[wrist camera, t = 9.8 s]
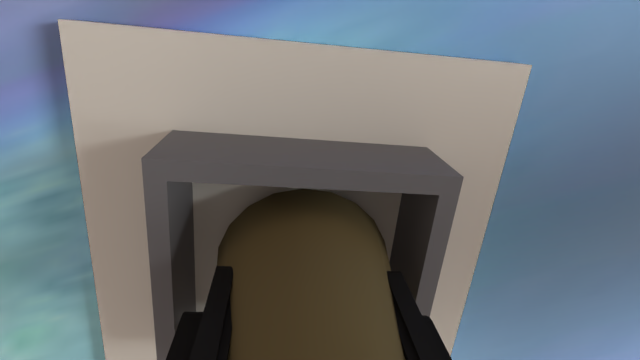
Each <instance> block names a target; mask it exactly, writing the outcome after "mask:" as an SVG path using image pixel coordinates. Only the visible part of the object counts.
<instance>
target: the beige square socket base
mask: <svg viewBox="0 0 640 360" xmlns="http://www.w3.org/2000/svg"><path fill="white" fill-rule="evenodd" d="M58 25H59V32H60V40H61V47H62V54H63V61H64V68H65V75H66V82H67V89H68V96H69V104H70V111H71V118H72V125H73V132H74V139H75V146H76V153H77V160H78V167H79V175H80V182H81V189H82V196H83V203H84V210H85V217H86V224H87V231H88V239H89V246H90V253H91V260H92V267H93V274H94V281H95V288H96V295H97V302H98V310H99V317H100V324H101V331H102V338H103V345H104V352H105V359H106V360H166V357H167V354H168V352H169V349H170V346H171V343H172V341H173V338H174V335H175V332H176V330H177V327H178V324H179V321H180V318H181V316H182V314H183V313H184V312H203V311H204V307H205V304H206V300H207V297H208V294H209V290H210V287H211V283H212V280H213V276H214V273H215V269H216V266H217V258H218V247H219V245H220V243H221V241H222V239H223V237H224V235H225V233H226V230H227V228H228V226H229V225H230V224H231V223H232V222H233V221H234V220H235V219H236V218H237V217H238V216H239V215H240V214H241V213H242V212H243V211H244V210H245V209H246V208H247V207H248V206H249V205H251V204H253V203H255V202H257V201H259V200H261V199H263V198H265V197H267V196H269V195H271V194H273V193H279V192H284V191H290V190H296V189H302V188H303V189H312V190H320V191H329V192H332V193H335V194H337V195H339V196H341V197H344V198H346V199H348V200H350V201H353V202H355V203H356V204H357V205H358V206H360V207H361V208H362V209H363V210H364V211H365V212H366V213H367V214H368V215H369V216H370V217H371V218H372V219H374V221H375V223H376V225H377V227H378V229H379V231H380V233H381V235H382V237H383V239H384V241H385V245H386V249H387V254H388V259H389V263H390V268H391V271H400V272H401V273H402V275H403V277H404V279H405V281H406V283H407V285H408V287H409V289H410V291H411V293H412V296H413V298H414V300H415V302H416V304H417V306H418V308H419V310H420V312H421V314H422V315H426V316H429V317H430V318H431V320H432V321H433V323H434V325H435V327H436V329H437V331H438V333H439V335H440V337H441V339H442V341H443V343H444V345H445V347H446V349H447V351H448V353H449V355H450V356H451V352H452V349H453V345H454V341H455V338H456V334H457V331H458V327H459V324H460V320H461V317H462V313H463V309H464V306H465V302H466V299H467V295H468V292H469V288H470V285H471V281H472V277H473V274H474V270H475V267H476V263H477V260H478V256H479V253H480V249H481V245H482V242H483V238H484V235H485V231H486V228H487V224H488V221H489V217H490V213H491V210H492V206H493V203H494V199H495V196H496V192H497V189H498V185H499V181H500V178H501V174H502V171H503V167H504V164H505V160H506V157H507V153H508V149H509V146H510V142H511V139H512V135H513V132H514V128H515V125H516V121H517V117H518V114H519V110H520V107H521V103H522V100H523V96H524V93H525V89H526V86H527V82H528V78H529V75H530V71H531V68H532V65H527V64H520V63H512V62H502V61H491V60H481V59H471V58H460V57H450V56H440V55H430V54H419V53H409V52H399V51H388V50H378V49H368V48H358V47H347V46H337V45H327V44H316V43H306V42H296V41H285V40H275V39H265V38H255V37H244V36H234V35H224V34H213V33H203V32H193V31H183V30H172V29H162V28H152V27H141V26H131V25H121V24H110V23H100V22H90V21H80V20H63V19H58Z"/></svg>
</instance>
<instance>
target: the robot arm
mask: <svg viewBox="0 0 640 360" xmlns="http://www.w3.org/2000/svg"><path fill="white" fill-rule="evenodd" d="M387 277H388V282H389V286H390V290H391V293H392V297H393V303H394V309H395V314H396V320H397V325H398V331H399V336H400V340H401V344H402V348H403V352H404V356H405V359H406V360H452V359H451V357H450V355H449V353H448V351H447V349H446V347H445V345H444V343H443V341H442V339H441V337H440V335H439V333H438V331H437V329H436V327H435V325H434V323H433V321H432V320H431V318H430V317H429V316H426V315H422V314H421V312H420V310H419V308H418V306H417V304H416V302H415V300H414V298H413V296H412V293H411V291H410V289H409V287H408V285H407V283H406V281H405V279H404V277H403V275H402V273H401V272H400V271H387ZM232 280H233V268H232V267H231V266H216V269H215V273H214V276H213V280H212V283H211V287H210V290H209V294H208V297H207V300H206V304H205V307H204V311H203V312H184V313H183V314H182V316H181V318H180V321H179V324H178V327H177V330H176V332H175V335H174V338H173V341H172V343H171V346H170V349H169V352H168V354H167V357H166V360H228V353H229V346H230V339H231V333H232V321H231V303H230V291H231V286H232Z"/></svg>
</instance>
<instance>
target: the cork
mask: <svg viewBox="0 0 640 360" xmlns="http://www.w3.org/2000/svg"><path fill="white" fill-rule="evenodd" d="M217 266H231V267H232V268H233V280H232V286H231V291H230V303H231V321H232V333H231V339H230V346H229V353H228V360H406V359H405V356H404V352H403V348H402V344H401V340H400V336H399V331H398V325H397V320H396V314H395V309H394V303H393V297H392V293H391V290H390V286H389V282H388V277H387V271H391V268H390V263H389V259H388V254H387V249H386V245H385V241H384V239H383V237H382V235H381V233H380V231H379V229H378V227H377V225H376V223H375V221H374V219H372V218H371V217H370V216H369V215H368V214H367V213H366V212H365V211H364V210H363V209H362V208H361V207H360V206H358V205H357V204H356V203H355V202H353V201H350V200H348V199H346V198H344V197H341V196H339V195H337V194H335V193H332V192H329V191H320V190H312V189H303V188H302V189H296V190H290V191H284V192H279V193H273V194H271V195H269V196H267V197H265V198H263V199H261V200H259V201H257V202H255V203H253V204H251V205H249V206H248V207H247V208H246V209H245V210H244V211H243V212H242V213H241V214H240V215H239V216H238V217H237V218H236V219H235V220H234V221H233V222H232V223H231V224H230V225H229V226H228V228H227V230H226V233H225V235H224V237H223V239H222V241H221V243H220V245H219V247H218V258H217Z"/></svg>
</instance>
